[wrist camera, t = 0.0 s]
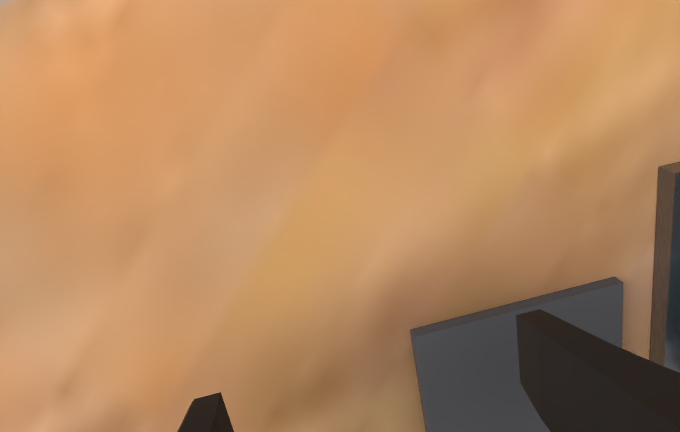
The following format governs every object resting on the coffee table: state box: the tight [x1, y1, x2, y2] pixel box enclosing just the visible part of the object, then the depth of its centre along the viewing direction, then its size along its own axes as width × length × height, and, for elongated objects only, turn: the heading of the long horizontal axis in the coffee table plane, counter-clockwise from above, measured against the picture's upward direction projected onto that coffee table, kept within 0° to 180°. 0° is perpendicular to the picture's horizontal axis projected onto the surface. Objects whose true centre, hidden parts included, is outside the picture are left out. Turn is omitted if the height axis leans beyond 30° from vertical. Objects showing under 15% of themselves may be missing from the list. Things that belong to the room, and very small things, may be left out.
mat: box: [410, 277, 623, 432], centre depth 27 cm, size 10×10×1 cm
